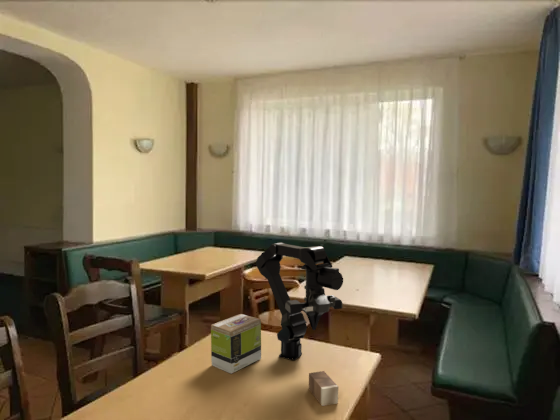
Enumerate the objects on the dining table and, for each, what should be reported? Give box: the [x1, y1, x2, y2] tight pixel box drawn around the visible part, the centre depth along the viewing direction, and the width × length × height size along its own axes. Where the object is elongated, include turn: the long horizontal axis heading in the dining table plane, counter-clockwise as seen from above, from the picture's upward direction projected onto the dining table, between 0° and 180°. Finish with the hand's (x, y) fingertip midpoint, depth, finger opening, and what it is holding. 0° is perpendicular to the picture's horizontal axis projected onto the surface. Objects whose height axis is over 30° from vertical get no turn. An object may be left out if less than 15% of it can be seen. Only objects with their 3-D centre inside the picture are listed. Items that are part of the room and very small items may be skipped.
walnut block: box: [308, 370, 339, 407], centre depth 127 cm, size 5×5×10 cm
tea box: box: [210, 313, 262, 374], centre depth 147 cm, size 15×10×15 cm, turn 141°
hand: (313, 329), depth 145 cm, fingers closed
